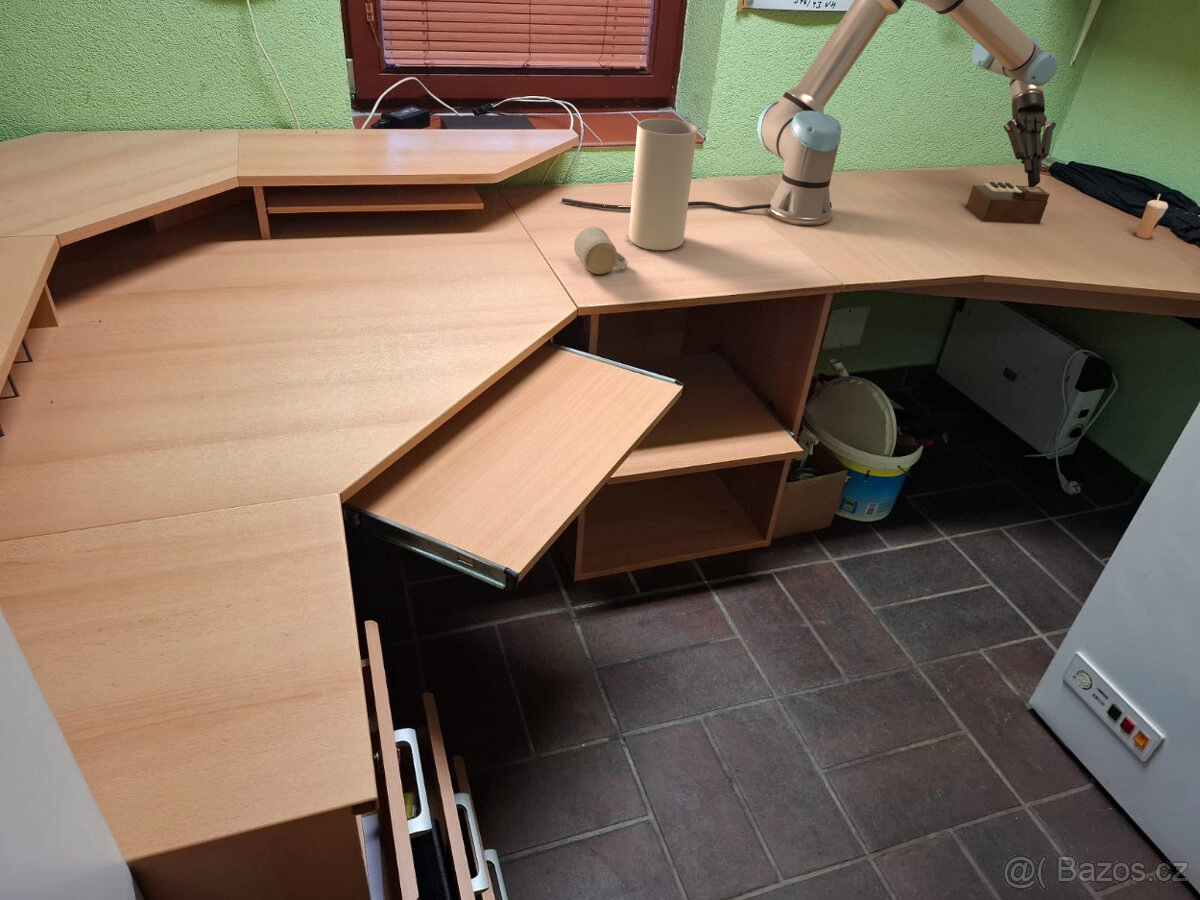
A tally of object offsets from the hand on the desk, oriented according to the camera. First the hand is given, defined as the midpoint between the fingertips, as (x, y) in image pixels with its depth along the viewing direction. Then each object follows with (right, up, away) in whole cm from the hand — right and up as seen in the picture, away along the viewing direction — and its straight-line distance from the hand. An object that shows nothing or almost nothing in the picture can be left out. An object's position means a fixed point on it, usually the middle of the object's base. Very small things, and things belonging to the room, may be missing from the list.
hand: (1034, 184), depth 206 cm
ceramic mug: (-110, -29, -36) cm, 120 cm away
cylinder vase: (-98, -20, -22) cm, 102 cm away
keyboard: (-8, -1, 0) cm, 8 cm away
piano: (-5, -6, +6) cm, 10 cm away
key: (0, -3, +2) cm, 3 cm away
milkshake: (+27, -13, -1) cm, 30 cm away
